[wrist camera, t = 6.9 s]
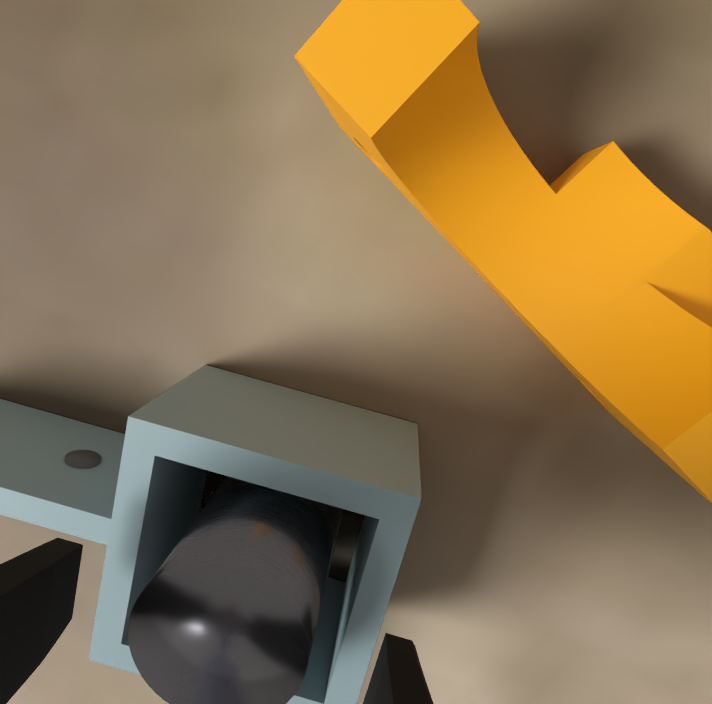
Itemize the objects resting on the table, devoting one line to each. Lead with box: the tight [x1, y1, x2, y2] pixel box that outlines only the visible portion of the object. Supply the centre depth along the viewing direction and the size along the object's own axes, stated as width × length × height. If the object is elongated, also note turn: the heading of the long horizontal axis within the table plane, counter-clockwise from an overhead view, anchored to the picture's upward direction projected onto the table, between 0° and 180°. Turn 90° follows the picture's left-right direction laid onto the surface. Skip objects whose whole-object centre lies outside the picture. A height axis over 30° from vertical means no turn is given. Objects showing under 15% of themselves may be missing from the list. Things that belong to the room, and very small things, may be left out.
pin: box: [128, 476, 343, 704], centre depth 15 cm, size 4×4×7 cm
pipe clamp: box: [295, 0, 712, 504], centre depth 13 cm, size 12×4×6 cm, turn 45°
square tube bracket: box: [0, 365, 422, 704], centre depth 17 cm, size 15×16×5 cm
